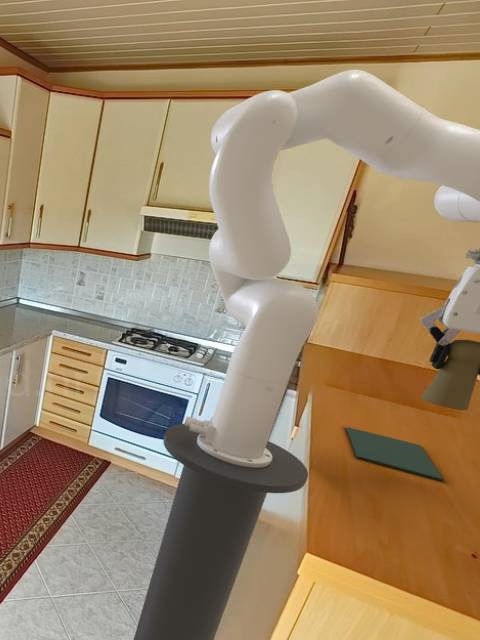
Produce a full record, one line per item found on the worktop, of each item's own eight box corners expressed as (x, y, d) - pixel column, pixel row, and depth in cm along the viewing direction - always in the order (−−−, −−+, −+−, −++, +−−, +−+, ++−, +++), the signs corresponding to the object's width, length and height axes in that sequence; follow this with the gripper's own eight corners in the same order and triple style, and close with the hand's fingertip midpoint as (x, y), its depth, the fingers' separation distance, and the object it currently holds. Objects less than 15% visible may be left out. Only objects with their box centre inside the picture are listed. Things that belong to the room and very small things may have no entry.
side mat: (356, 458, 96) (357, 456, 96) (346, 428, 111) (347, 426, 111) (442, 481, 90) (443, 479, 90) (418, 447, 105) (419, 444, 105)
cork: (434, 405, 81) (464, 342, 78) (413, 393, 87) (440, 334, 83) (477, 412, 80) (509, 348, 76) (453, 400, 86) (482, 340, 82)
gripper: (444, 254, 76) (398, 364, 83) (604, 271, 68) (539, 391, 74) (433, 253, 82) (391, 355, 89) (578, 268, 74) (520, 379, 81)
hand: (459, 370), depth 82 cm, fingers closed on cork, 5 cm apart
